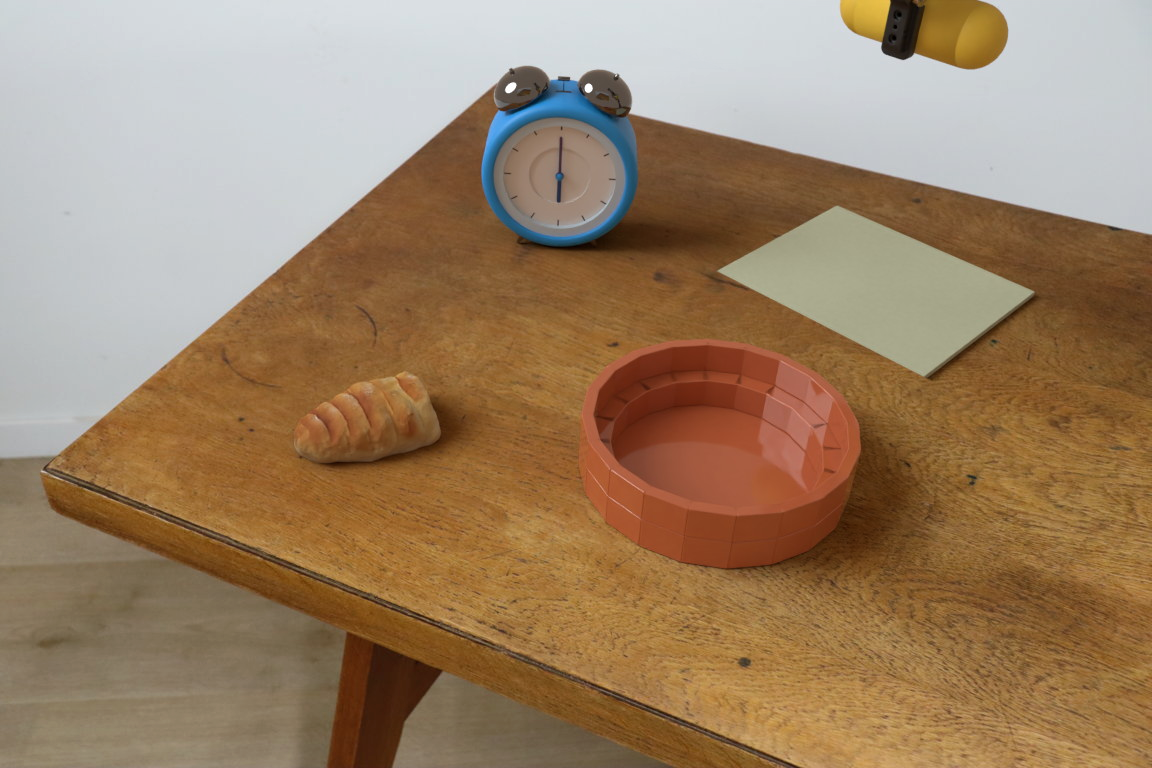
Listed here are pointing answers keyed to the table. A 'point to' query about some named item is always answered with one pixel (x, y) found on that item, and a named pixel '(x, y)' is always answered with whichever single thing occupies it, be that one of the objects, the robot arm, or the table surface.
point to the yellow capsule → (939, 29)
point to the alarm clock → (560, 155)
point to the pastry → (369, 422)
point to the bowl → (717, 452)
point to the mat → (880, 288)
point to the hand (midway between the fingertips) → (915, 46)
